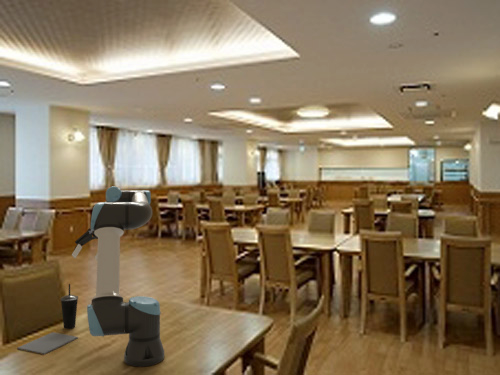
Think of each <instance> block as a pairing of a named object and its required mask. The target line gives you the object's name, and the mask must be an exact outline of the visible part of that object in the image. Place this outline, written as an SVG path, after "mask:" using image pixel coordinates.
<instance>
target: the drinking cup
mask: <svg viewBox="0 0 500 375" xmlns="http://www.w3.org/2000/svg"><path fill="white" fill-rule="evenodd" d="M59 300H60V301H61V312H62V313H61V314H62V315H61V316H62V324H63V329H65V330H71V329H74V328H75V327H76V320H77V311H78V301H79V296H78V295H74V294H71V284H70V283H69V284H68V294H67V295H64V296H62V297H61V298H60V299H59Z"/></svg>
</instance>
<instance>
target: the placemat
mask: <svg viewBox="0 0 500 375" xmlns="http://www.w3.org/2000/svg"><path fill="white" fill-rule="evenodd" d="M78 338H79V337H78V336H74V335H71V334H69V335H68V334H64V333H59V332H54V331H53V332H50V333H48V334H46V335H44V336H43V335H42V336H40V337H39V338H37V339H34V340H31V341H29V342H27V343H25V344H23V345H20V346H17V350H20V351H25V350H27V351H26V352H30V351H32V352H31V353H34V352H36V354H39V353H41V354H40V355H44V354H45V355H46V354H49V353H50V352H53V351H55V350H57V349H59V348H61V347H63V346H65V345H67V344H68V343H69V344H70V343H71V342H73V341H75V340H77V339H78Z"/></svg>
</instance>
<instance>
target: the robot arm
mask: <svg viewBox="0 0 500 375" xmlns="http://www.w3.org/2000/svg"><path fill="white" fill-rule="evenodd" d="M151 196H152V195H151V190H145V189H142V190H121V188H119V187H117V186H113V185H112V186H110V187H108V188H107V189H106V191H105V202H97V203H95V204H94V206H93V208H92V212H91V217H90V218H91V219H90V220H91V221H90V227H89V228H88V229H87V231H86V232H84V233H83V234H82V235H80V237H79V238H77V239H76V240H75V241H74V243H75V245H76V246H75V247H74V249H73V250H74V251H73V252H72V254H71V256H72V257H73V258H74V259H76V258H77V257H78V256H79V253H80V252H81V250H82V249H83V246H84V245H86V244H88V243H89V242H91V241H94V240H97V252H96V254H95V256H94V259H95V260H96V281H95V282H96V284H95V286H96V287H95V296H94V297H92V298H91V303H89V304H87V305H86V308H87V309H86V310H87V311H86V312H87V313H86V314H87V323H88V329H89V334H90V335H91V336H92V337H105V336H117V335H128V342H127V344H126V348H125V351H124V354H123V361H124V363H125V364H127V365H128V366H132V367H139V368H142V367H149V366H154V365H157V364H158V363H161V362H162V361H163V360H164V359H165V349H164V346H163V342H162V339H161V314H162V313H161V305H160V302H159V301H158V300H157V299H156V298H154V297H151V296H143V295H140V296H139V295H137V296H136V295H135V296H132V297H130V298H129V300H128V301H127V302H125V301H124V297H123V295H121V294H120V273H121V272H120V269H121V268H120V261H121V259H120V258H121V257H120V256H121V250H120V249H121V245H120V244H121V237H122V236H123V235H124V233H125V232H124V231H127V230H135V229H138V228H141V227H143V226H144V225H146V224H147V223H148V222H150V220H151V219H152V217H153V209H152V208H153V207H152V206H151V202H152V200H151V199H152V197H151Z"/></svg>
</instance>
